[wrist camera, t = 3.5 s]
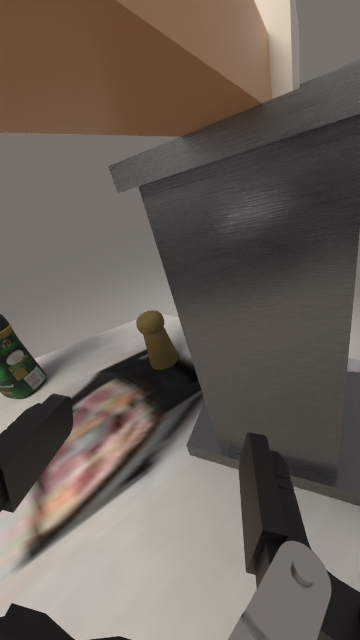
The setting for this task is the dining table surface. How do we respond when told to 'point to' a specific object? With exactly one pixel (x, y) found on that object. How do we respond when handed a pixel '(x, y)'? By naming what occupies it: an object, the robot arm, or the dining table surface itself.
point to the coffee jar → (17, 365)
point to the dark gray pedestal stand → (267, 274)
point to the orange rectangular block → (141, 63)
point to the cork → (157, 340)
